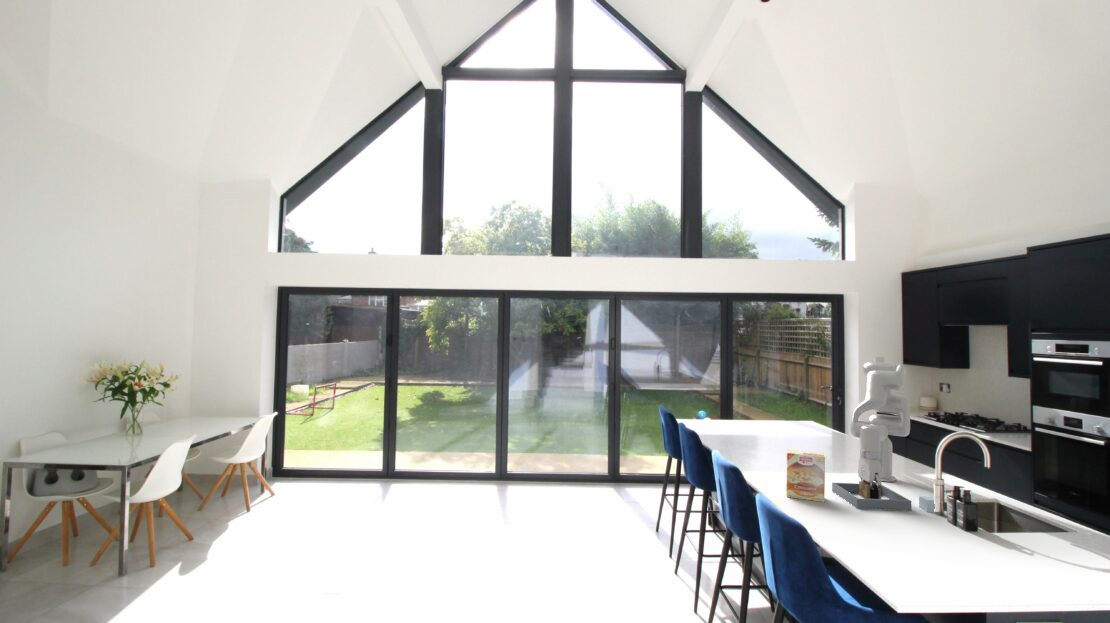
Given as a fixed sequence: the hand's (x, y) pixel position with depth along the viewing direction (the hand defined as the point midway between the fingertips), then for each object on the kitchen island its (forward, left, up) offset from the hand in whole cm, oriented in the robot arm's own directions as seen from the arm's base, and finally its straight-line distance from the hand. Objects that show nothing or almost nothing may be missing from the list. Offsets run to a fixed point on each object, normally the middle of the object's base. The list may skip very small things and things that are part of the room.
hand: (869, 495), depth 223 cm
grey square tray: (0, 0, -2) cm, 2 cm away
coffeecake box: (-1, -27, -2) cm, 27 cm away
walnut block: (0, 0, -1) cm, 1 cm away
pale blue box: (+9, +19, -2) cm, 21 cm away
